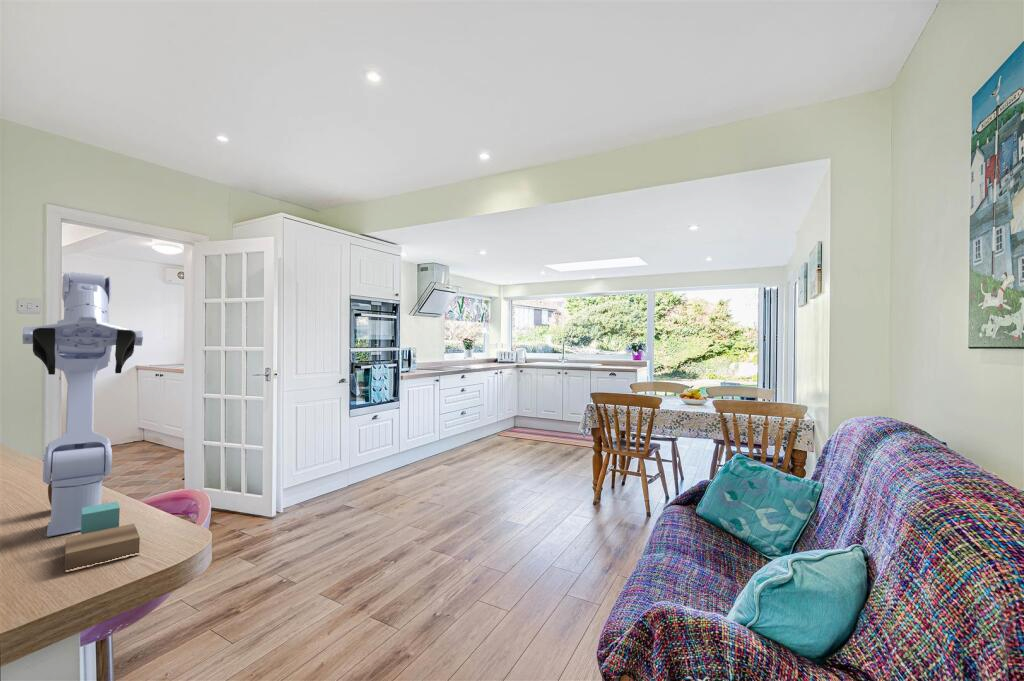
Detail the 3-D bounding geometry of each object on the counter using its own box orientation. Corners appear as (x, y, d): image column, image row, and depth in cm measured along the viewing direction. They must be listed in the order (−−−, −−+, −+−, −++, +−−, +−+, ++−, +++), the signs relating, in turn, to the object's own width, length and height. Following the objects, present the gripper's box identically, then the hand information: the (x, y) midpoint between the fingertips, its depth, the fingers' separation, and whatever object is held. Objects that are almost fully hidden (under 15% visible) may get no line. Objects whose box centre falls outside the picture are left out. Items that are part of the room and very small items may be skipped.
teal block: (80, 540, 82) (81, 507, 82) (116, 532, 85) (117, 501, 86) (81, 548, 78) (82, 514, 79) (118, 540, 82) (119, 507, 82)
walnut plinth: (65, 555, 76) (65, 537, 76) (133, 539, 82) (134, 523, 82) (64, 573, 69) (65, 553, 69) (139, 555, 76) (139, 537, 76)
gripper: (25, 295, 71) (17, 349, 63) (142, 303, 81) (147, 350, 74) (26, 329, 74) (18, 385, 66) (138, 333, 84) (143, 381, 77)
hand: (86, 369), depth 70 cm, fingers open, 7 cm apart
